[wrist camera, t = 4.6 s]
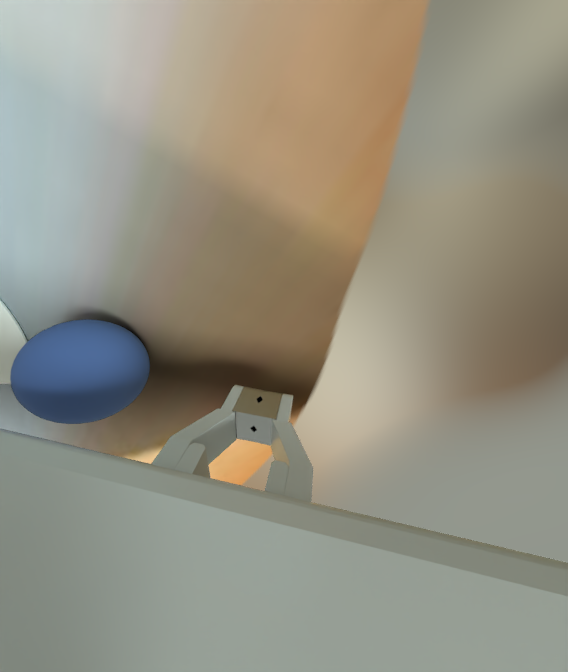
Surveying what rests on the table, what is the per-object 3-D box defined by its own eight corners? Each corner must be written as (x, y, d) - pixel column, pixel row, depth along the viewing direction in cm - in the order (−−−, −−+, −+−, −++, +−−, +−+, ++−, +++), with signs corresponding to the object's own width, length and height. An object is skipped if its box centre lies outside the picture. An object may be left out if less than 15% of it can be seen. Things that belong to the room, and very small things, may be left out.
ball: (106, 370, 16) (13, 435, 11) (76, 299, 13) (-64, 345, 8) (176, 382, 15) (108, 458, 11) (159, 311, 13) (59, 368, 8)
